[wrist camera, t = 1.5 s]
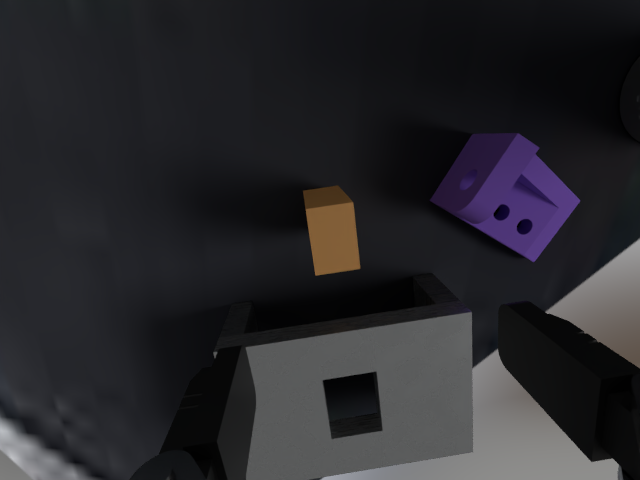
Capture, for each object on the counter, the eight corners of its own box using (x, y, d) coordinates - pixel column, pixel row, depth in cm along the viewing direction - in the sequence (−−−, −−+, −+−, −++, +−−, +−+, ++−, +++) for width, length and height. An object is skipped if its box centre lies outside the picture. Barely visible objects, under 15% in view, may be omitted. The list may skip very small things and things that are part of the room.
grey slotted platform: (432, 273, 34) (471, 312, 27) (437, 389, 38) (472, 452, 31) (231, 304, 34) (213, 352, 26) (258, 418, 38) (248, 489, 30)
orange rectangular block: (335, 182, 31) (352, 202, 22) (341, 230, 32) (360, 268, 23) (302, 187, 31) (305, 209, 22) (309, 235, 32) (315, 275, 23)
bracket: (428, 200, 33) (461, 216, 26) (470, 134, 31) (517, 133, 25) (523, 256, 35) (576, 284, 28) (567, 197, 33) (634, 212, 27)
